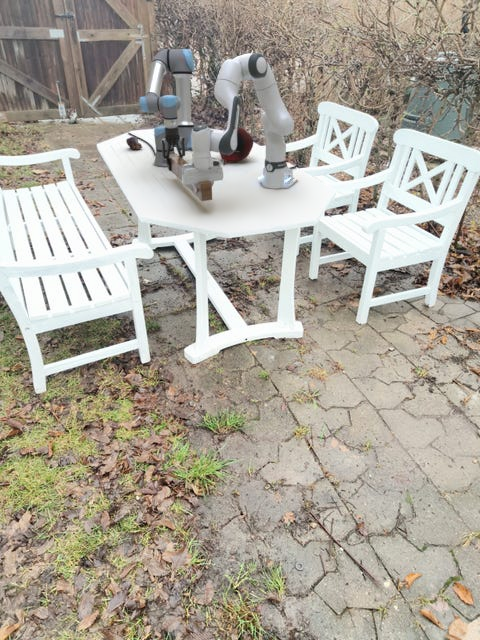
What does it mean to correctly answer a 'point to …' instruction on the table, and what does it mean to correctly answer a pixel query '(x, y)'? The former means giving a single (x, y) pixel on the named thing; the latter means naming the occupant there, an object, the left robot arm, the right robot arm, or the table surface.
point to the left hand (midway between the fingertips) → (175, 169)
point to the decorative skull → (240, 147)
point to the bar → (203, 187)
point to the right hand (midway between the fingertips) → (203, 191)
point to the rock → (133, 143)
